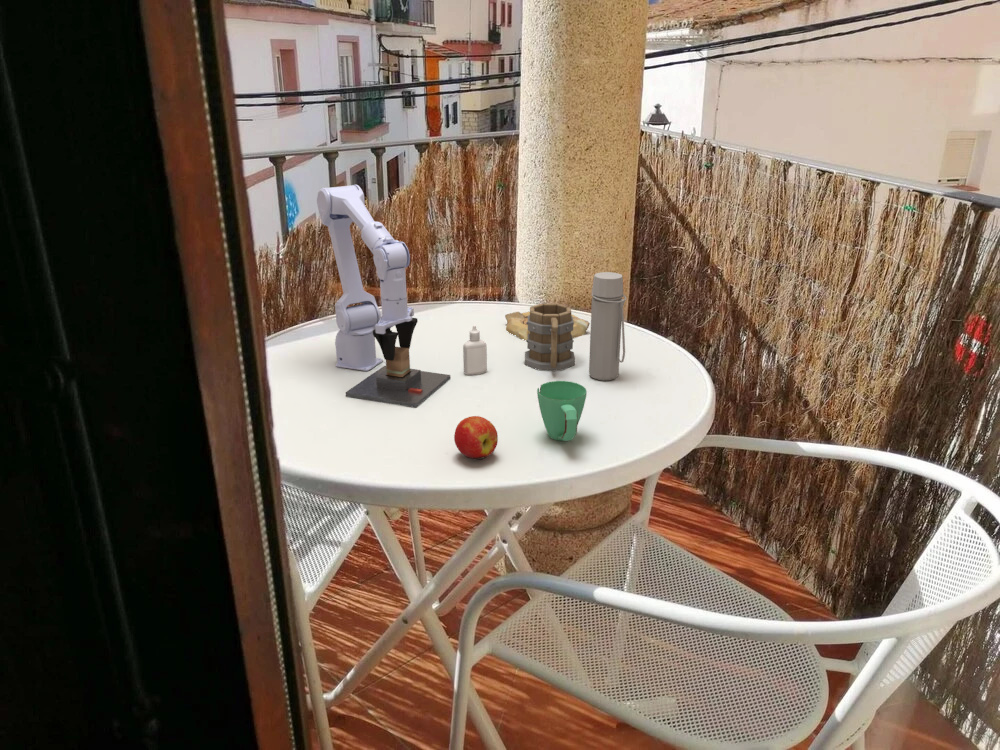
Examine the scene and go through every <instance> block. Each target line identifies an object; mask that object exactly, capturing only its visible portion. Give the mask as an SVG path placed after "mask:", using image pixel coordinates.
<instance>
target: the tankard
mask: <svg viewBox="0 0 1000 750" xmlns="http://www.w3.org/2000/svg"><path fill="white" fill-rule="evenodd" d="M529 312H530V315H529V316H528V322H526V324H527V325H528V331H530V334H528V340H526V341H525V342H526V343H527V349H528V350H526V351H524V365H525V366H527V365H528V366H527V367H530V368H532V367H533V369H535V368H536V370H538V369H539V371H562V369H563V370H565V369H568V368H571V367H574V366H575V365H576V358H575V356H576V355H575V352H574V351H571V350H573V348H574V346H573V345H574V344H573V343H575V342H574V338H572V334H571V331H573V325H574V322H573V317H572V316H571V314H572V308H571V307H570V306H569V305H564V304H561V303H557V302H556V303H538V304H535V305H532V306H530V307H529ZM573 365H574V366H573Z"/></svg>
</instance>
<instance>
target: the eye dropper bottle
mask: <svg viewBox="0 0 1000 750" xmlns="http://www.w3.org/2000/svg"><path fill="white" fill-rule="evenodd" d="M480 337H481V335H480V330H478V329H477V325H472V329H471V330H470V331H469V340H468V341H467V340H466V341H465V342H464V343H463V345H462V349H463V350H462V351H463V352H462V357H463V359H462V360H463V373H464V374H466V375H467V376H477V374H478V375H481V374H485V373H486V372H487V371H488V357H487V356H488V355H487V348H488V347H487V343H486V342H485V340H483V339H480Z"/></svg>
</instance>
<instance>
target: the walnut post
mask: <svg viewBox="0 0 1000 750" xmlns="http://www.w3.org/2000/svg"><path fill="white" fill-rule="evenodd" d="M410 358H411V357H410V349H409V348H403V347H400V346H395V357H394V360H393V361H391V360H385V366H386V370H387V375H390V376H397V377H403V376H404V375H406V374H407V373H408V372H410V369H411V363H410V362H411V360H410Z"/></svg>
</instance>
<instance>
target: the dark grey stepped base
mask: <svg viewBox="0 0 1000 750" xmlns="http://www.w3.org/2000/svg"><path fill="white" fill-rule="evenodd" d="M450 380H451V374H446V373H439V372H438V373H437V372H433V371H432V372H431V371H425V370H421V369H416V368H410V372H408V373H407V374H406V375H404V376H403V377H397V376H390V375H387V370H386V365H383V366H382V367H380V368H379V369H377V370H376V371H374V372H373V373H371V374H370V375H368V376H367V377H366V378H365V379H363V380H361V381H360V382H358V383H357V384H356V385H354V386H353V387H351V388H350V389H348V390H347V391H345V397H347V398H353V399H359V400H364V401H365V400H366V401H372V402H379V403H384V404H391V405H397V406H404V407H407V408H408V407H411V408H413V409H414V408H418V407H419V406H420V405H422V404H423V403H424V402H425V401H426V400H427V399H428V398H429V397H431V396H433V394H434V393H436V392H437V391H438V390H439V389H440V388H441V387H442V386H444V385H445V384H447V382H448V381H450Z"/></svg>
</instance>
